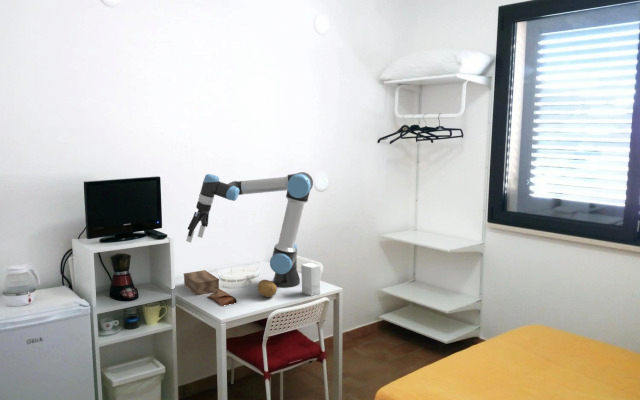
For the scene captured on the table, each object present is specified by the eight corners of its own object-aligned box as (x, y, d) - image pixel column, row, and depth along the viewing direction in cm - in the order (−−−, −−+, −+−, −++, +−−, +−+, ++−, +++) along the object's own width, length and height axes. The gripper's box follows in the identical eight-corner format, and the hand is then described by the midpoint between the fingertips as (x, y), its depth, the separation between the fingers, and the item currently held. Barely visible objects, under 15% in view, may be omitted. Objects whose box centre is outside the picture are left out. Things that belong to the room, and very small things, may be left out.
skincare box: (320, 293, 265) (320, 265, 263) (310, 296, 261) (311, 267, 259) (310, 289, 272) (310, 262, 269) (300, 292, 267) (300, 264, 265)
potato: (270, 290, 270) (270, 276, 269) (281, 298, 258) (280, 283, 257) (253, 293, 266) (253, 278, 264) (263, 301, 253) (263, 286, 252)
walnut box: (205, 282, 284) (204, 270, 283) (219, 292, 268) (219, 279, 267) (183, 286, 278) (183, 273, 276) (197, 296, 261) (196, 283, 260)
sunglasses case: (205, 297, 259) (211, 285, 260) (216, 301, 263) (221, 289, 265) (221, 306, 245) (227, 294, 247) (232, 311, 250) (238, 298, 251)
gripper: (208, 197, 280) (198, 232, 283) (187, 203, 255) (177, 241, 259) (220, 202, 279) (210, 237, 282) (201, 207, 254) (190, 246, 258)
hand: (194, 239), depth 271 cm, fingers open, 13 cm apart
